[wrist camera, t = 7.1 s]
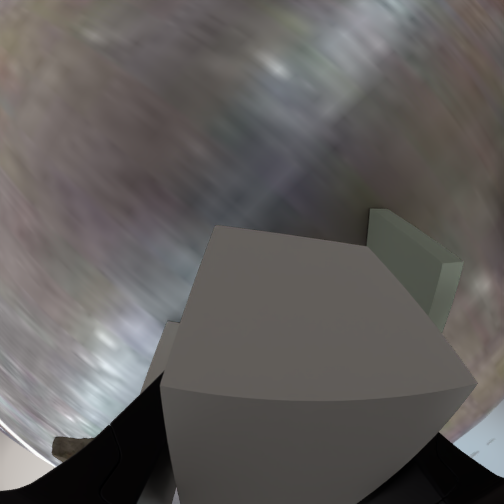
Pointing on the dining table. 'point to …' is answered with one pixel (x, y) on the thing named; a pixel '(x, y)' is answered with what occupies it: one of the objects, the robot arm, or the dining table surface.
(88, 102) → the dining table surface
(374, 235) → the door
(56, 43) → the dining table surface
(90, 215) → the dining table surface
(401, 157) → the dining table surface
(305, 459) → the block
